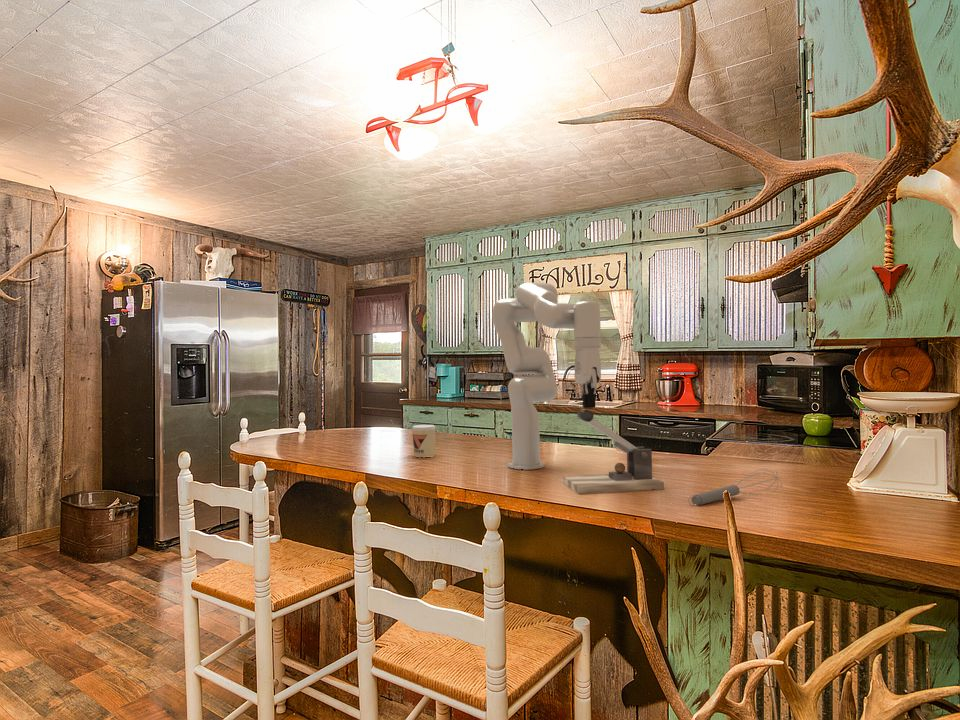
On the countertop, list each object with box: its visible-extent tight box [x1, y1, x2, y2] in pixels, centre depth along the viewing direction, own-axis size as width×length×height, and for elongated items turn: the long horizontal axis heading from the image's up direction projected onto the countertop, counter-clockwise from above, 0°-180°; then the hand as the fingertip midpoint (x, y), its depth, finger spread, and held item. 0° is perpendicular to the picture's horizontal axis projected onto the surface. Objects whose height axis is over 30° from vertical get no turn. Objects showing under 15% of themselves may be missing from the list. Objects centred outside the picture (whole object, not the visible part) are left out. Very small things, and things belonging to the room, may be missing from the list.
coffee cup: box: [411, 424, 437, 457], centre depth 214 cm, size 9×9×12 cm
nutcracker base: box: [562, 446, 665, 495], centre depth 158 cm, size 14×25×10 cm, turn 98°
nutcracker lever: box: [576, 408, 639, 455], centre depth 158 cm, size 5×23×4 cm
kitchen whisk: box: [687, 468, 783, 507], centre depth 142 cm, size 6×34×6 cm, turn 117°
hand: (589, 407), depth 157 cm, fingers closed
